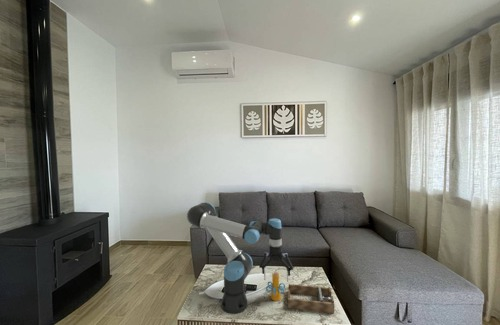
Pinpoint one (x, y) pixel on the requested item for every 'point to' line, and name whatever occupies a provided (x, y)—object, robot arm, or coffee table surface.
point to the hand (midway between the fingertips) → (276, 279)
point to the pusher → (321, 296)
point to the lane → (307, 303)
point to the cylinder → (275, 287)
